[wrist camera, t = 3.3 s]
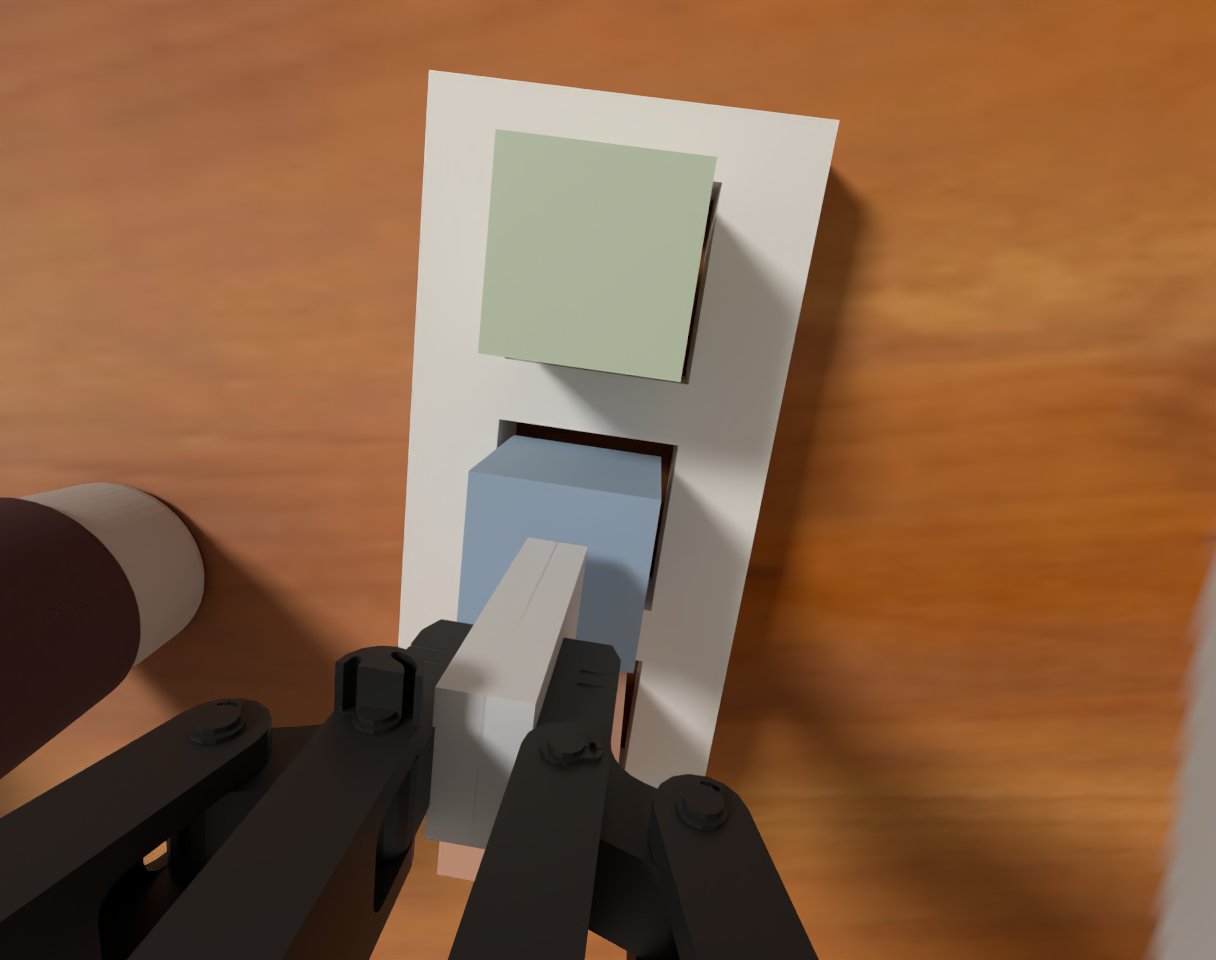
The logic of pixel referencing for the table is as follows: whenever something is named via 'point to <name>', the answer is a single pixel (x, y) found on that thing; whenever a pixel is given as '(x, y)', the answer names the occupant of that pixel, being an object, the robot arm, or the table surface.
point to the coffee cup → (84, 602)
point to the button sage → (593, 253)
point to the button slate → (566, 528)
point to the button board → (612, 402)
